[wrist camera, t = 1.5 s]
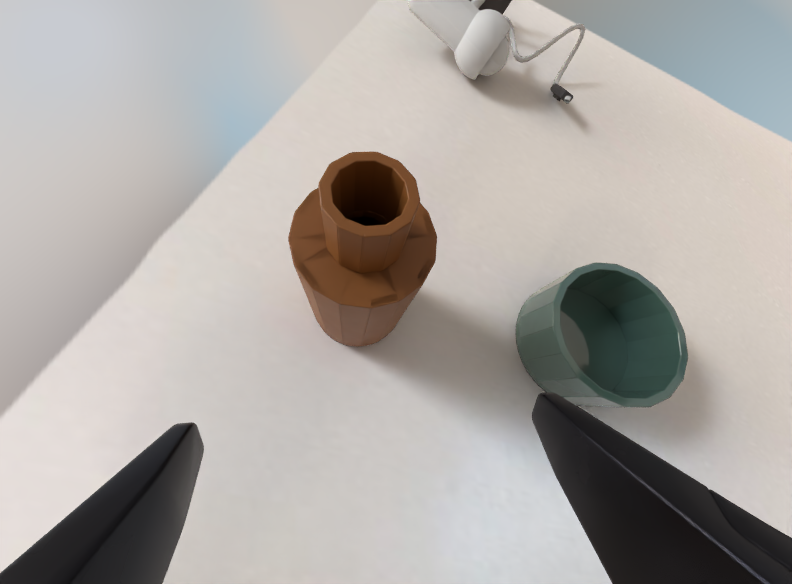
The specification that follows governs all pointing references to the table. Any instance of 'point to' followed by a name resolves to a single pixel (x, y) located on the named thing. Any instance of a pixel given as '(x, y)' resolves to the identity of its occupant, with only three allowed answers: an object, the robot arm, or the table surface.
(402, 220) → the bottle
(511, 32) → the clip-on lamp
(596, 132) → the table surface
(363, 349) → the table surface
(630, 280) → the cup
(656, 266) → the table surface
